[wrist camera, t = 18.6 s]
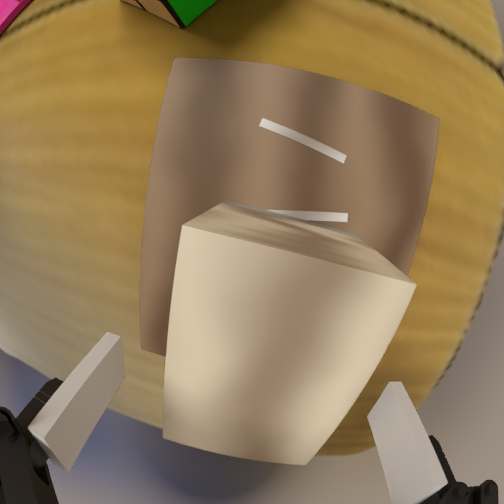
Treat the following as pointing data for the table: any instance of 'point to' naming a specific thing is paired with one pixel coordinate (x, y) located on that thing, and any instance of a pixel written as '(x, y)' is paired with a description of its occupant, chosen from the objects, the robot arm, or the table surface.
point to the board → (280, 163)
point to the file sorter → (10, 11)
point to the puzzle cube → (174, 9)
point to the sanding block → (273, 332)
